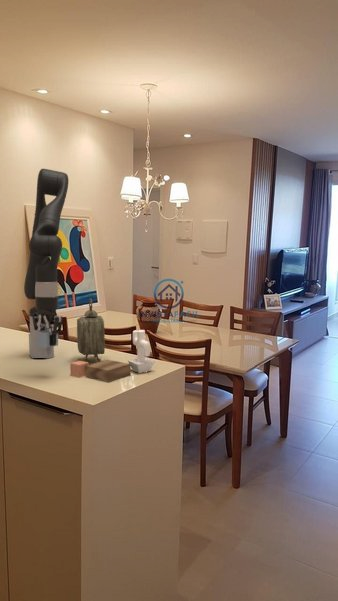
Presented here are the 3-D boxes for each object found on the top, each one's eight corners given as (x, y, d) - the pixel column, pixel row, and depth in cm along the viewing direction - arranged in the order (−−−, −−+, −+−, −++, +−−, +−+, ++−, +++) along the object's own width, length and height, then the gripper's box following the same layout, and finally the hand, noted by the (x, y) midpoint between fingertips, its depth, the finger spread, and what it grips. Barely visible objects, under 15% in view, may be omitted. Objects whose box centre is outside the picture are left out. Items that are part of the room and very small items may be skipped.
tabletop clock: (105, 365, 174) (104, 300, 172) (80, 367, 172) (79, 300, 169) (99, 357, 188) (98, 296, 185) (77, 358, 186) (76, 297, 183)
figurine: (139, 375, 160) (139, 333, 159) (126, 369, 168) (125, 329, 166) (156, 372, 164) (156, 331, 163) (143, 366, 172) (143, 327, 170)
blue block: (36, 345, 156) (36, 331, 156) (48, 343, 160) (48, 329, 160) (46, 347, 153) (46, 333, 153) (58, 345, 157) (57, 331, 157)
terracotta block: (70, 375, 160) (70, 363, 160) (80, 373, 164) (79, 360, 163) (79, 377, 158) (79, 365, 157) (88, 375, 161) (88, 362, 161)
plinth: (85, 376, 158) (85, 365, 158) (107, 370, 167) (107, 359, 167) (108, 382, 152) (108, 370, 151) (130, 375, 161) (130, 364, 160)
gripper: (24, 294, 156) (25, 343, 158) (51, 297, 147) (52, 349, 149) (42, 292, 162) (43, 339, 164) (69, 295, 153) (70, 345, 155)
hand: (47, 344), depth 157 cm, fingers closed on blue block, 5 cm apart
